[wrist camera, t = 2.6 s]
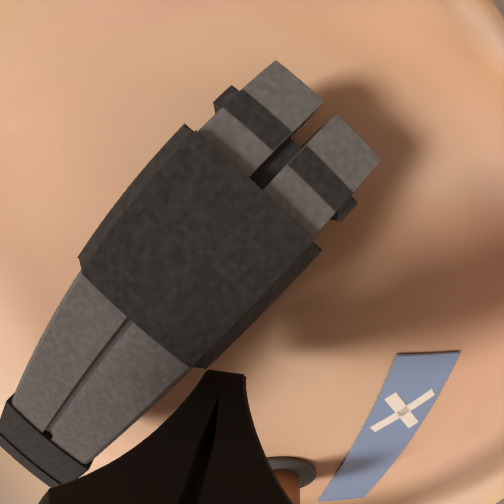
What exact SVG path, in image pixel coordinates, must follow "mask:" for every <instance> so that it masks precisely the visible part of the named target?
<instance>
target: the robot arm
mask: <svg viewBox="0 0 504 504" xmlns="http://www.w3.org/2000/svg"><path fill="white" fill-rule="evenodd" d="M39 504H293V503H292V502H291V500H290V499H289V497H288V496H287V494H286V493H285V491H284V490H283V488H282V486H281V485H280V483H279V481H278V479H277V478H276V476H275V474H274V472H273V470H272V468H271V466H270V464H269V462H268V460H267V458H266V456H265V453H264V451H263V449H262V446H261V444H260V441H259V438H258V436H257V433H256V430H255V427H254V423H253V420H252V416H251V413H250V409H249V404H248V399H247V392H246V377H245V376H244V375H243V374H236V373H228V372H221V371H214V370H208V371H206V372H205V374H204V375H203V377H202V378H201V380H200V381H199V383H198V384H197V386H196V387H195V388H194V390H193V391H192V392H191V393H190V395H189V396H188V397H187V398H186V399H185V401H184V402H183V403H182V404H181V405H180V406H179V407H178V409H177V410H176V411H175V412H174V413H173V414H172V415H171V416H170V417H169V418H168V419H167V420H166V421H165V422H164V423H163V424H162V425H161V426H160V427H159V428H157V429H156V430H155V431H154V432H153V433H152V434H151V435H149V436H148V437H147V438H146V439H145V440H143V441H142V442H141V443H139V444H138V445H137V446H135V447H134V448H132V449H131V450H130V451H128V452H127V453H125V454H124V455H122V456H121V457H119V458H117V459H116V460H114V461H113V462H111V463H109V464H107V465H105V466H103V467H101V468H99V469H97V470H95V471H93V472H91V473H89V474H87V475H85V476H83V477H80V478H78V479H75V480H72V481H70V482H67V483H64V484H61V485H58V486H55V487H52V488H50V489H49V490H48V491H47V493H46V494H45V495H44V496H43V497H42V499H41V501H40V502H39Z"/></svg>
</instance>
